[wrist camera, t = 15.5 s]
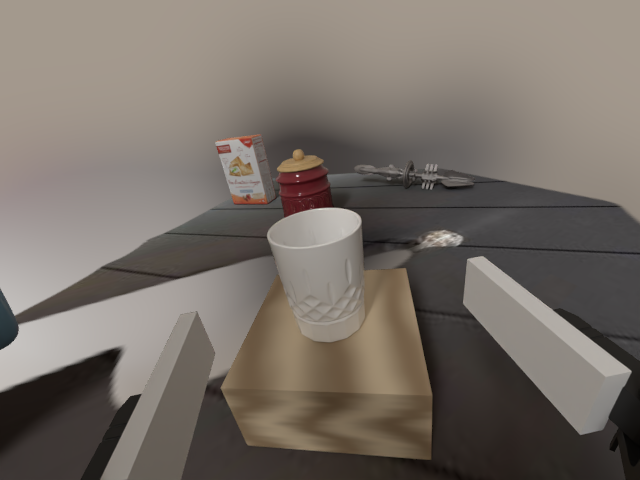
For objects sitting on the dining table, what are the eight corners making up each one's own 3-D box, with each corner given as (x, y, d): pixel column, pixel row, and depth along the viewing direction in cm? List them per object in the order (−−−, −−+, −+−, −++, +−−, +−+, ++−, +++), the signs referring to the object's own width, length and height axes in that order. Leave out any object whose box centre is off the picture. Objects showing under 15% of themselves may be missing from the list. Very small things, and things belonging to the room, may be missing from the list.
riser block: (247, 445, 26) (220, 388, 23) (289, 322, 40) (277, 274, 37) (431, 459, 23) (432, 395, 20) (407, 320, 37) (405, 268, 34)
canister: (309, 233, 66) (294, 156, 58) (275, 224, 75) (259, 156, 67) (345, 213, 74) (336, 143, 66) (311, 207, 83) (299, 144, 75)
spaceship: (361, 157, 94) (350, 153, 88) (479, 167, 76) (476, 163, 70) (357, 182, 96) (346, 179, 89) (471, 197, 78) (468, 196, 71)
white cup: (356, 285, 32) (346, 201, 28) (384, 335, 25) (375, 232, 21) (287, 303, 31) (266, 219, 27) (296, 359, 24) (268, 257, 20)
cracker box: (233, 205, 97) (213, 141, 88) (244, 198, 102) (226, 138, 93) (267, 204, 91) (250, 136, 82) (277, 198, 96) (261, 133, 87)
